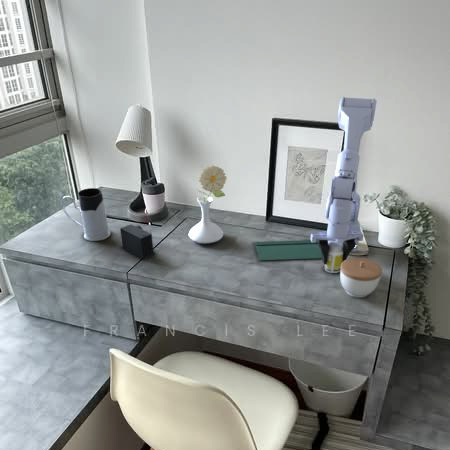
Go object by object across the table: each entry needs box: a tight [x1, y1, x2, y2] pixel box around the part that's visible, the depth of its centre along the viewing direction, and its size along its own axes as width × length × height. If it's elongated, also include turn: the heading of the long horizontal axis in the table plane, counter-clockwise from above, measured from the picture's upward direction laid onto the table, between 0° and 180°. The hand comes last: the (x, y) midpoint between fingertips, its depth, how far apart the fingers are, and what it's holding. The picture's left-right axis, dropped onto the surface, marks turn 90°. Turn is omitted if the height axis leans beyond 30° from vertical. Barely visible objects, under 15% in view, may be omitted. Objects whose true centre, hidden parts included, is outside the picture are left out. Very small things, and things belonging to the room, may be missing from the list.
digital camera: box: [120, 223, 154, 259], centre depth 152 cm, size 10×5×7 cm, turn 47°
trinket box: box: [339, 256, 383, 298], centre depth 130 cm, size 11×11×9 cm
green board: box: [254, 239, 323, 262], centre depth 152 cm, size 20×12×1 cm, turn 93°
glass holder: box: [60, 187, 111, 242], centre depth 158 cm, size 9×14×15 cm, turn 89°
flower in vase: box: [188, 165, 228, 244], centre depth 152 cm, size 13×11×25 cm
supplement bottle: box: [324, 241, 343, 274], centre depth 140 cm, size 5×5×8 cm
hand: (333, 262), depth 141 cm, fingers closed on supplement bottle, 5 cm apart
